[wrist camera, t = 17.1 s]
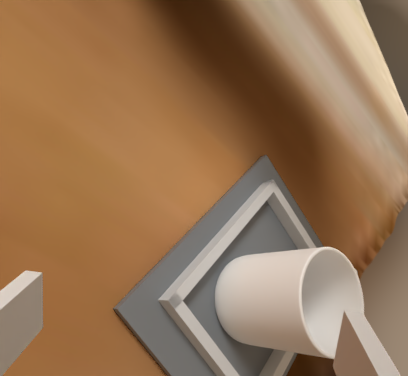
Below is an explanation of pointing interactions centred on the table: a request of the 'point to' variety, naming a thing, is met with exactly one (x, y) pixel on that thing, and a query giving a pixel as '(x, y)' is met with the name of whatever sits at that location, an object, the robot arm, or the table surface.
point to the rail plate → (207, 279)
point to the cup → (288, 299)
